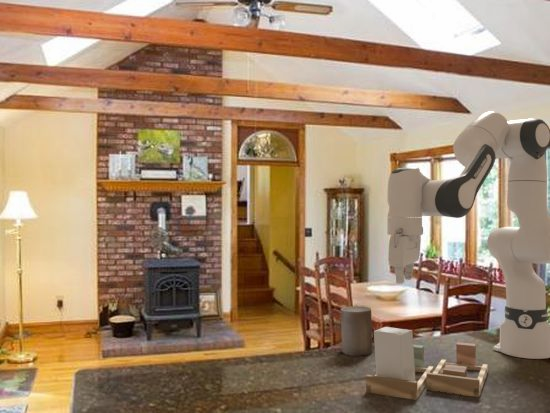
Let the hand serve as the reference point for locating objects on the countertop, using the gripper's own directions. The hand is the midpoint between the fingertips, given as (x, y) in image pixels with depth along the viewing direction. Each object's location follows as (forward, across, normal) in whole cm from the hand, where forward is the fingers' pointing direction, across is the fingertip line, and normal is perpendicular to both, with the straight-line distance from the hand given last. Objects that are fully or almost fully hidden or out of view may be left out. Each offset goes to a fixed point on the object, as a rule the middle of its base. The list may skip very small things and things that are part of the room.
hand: (404, 281), depth 139 cm
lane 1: (+26, +1, 0) cm, 26 cm away
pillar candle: (+26, +23, +20) cm, 40 cm away
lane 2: (+26, +9, -13) cm, 30 cm away
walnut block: (+26, 0, -13) cm, 29 cm away
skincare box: (+26, -7, +1) cm, 27 cm away
